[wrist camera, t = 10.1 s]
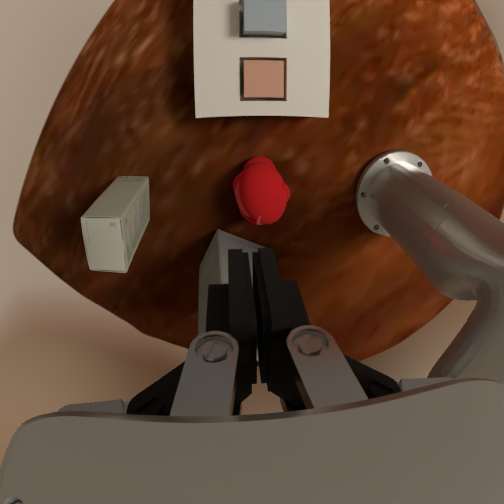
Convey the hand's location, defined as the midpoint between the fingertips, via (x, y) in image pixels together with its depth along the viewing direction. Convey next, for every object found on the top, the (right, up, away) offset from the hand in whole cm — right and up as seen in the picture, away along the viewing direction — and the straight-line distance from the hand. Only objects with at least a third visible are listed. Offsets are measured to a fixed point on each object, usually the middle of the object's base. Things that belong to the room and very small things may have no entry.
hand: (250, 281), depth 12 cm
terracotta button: (+1, +20, +18) cm, 27 cm away
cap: (+1, +10, +26) cm, 28 cm away
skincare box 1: (-15, +8, +26) cm, 31 cm away
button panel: (+1, +27, +16) cm, 31 cm away
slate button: (+1, +25, +13) cm, 29 cm away
